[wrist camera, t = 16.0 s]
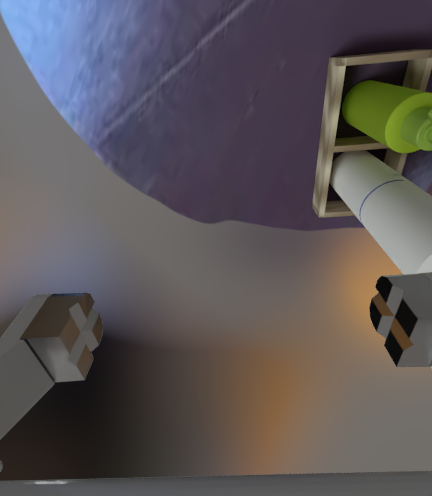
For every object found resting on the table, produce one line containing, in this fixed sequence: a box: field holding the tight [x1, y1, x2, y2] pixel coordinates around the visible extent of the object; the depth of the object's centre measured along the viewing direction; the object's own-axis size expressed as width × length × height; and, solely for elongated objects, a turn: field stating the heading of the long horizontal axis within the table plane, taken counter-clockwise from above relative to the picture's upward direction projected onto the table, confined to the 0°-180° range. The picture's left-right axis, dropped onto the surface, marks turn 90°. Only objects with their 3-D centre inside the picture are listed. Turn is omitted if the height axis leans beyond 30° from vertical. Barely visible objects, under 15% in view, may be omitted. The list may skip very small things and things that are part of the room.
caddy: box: [312, 49, 432, 218], centre depth 42 cm, size 21×11×4 cm, turn 5°
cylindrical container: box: [329, 150, 432, 274], centre depth 36 cm, size 7×7×25 cm
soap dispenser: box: [342, 80, 432, 153], centre depth 33 cm, size 6×7×20 cm
